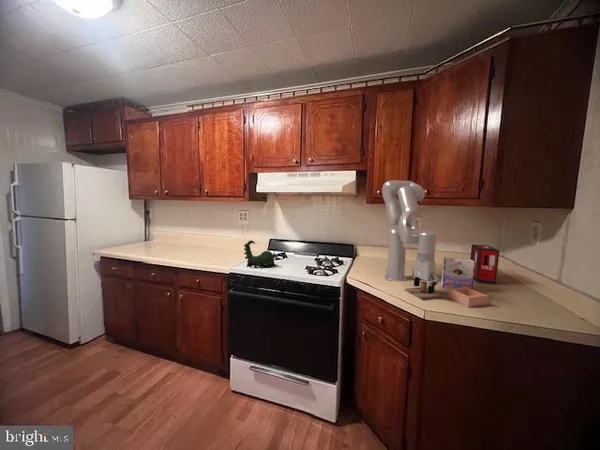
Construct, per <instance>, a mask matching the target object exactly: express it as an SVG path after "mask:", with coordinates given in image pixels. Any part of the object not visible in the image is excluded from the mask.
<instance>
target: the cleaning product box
mask: <svg viewBox="0 0 600 450" xmlns="http://www.w3.org/2000/svg"><path fill="white" fill-rule="evenodd" d="M470 248H471V251H470V259H469V260H473V261H474V262H475V263H474V275H473V281H475V282H476V283H477V284H478V283H479V284H485V285H487V284H488V285H496V284H497V275H498V274H497V273H498V266H499V259H500V257H499V256H500V250H499V249H496V248H494V247H493V246H490V245H487V244H471V247H470Z"/></svg>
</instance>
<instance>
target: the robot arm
mask: <svg viewBox="0 0 600 450" xmlns="http://www.w3.org/2000/svg"><path fill="white" fill-rule="evenodd" d="M425 193H426V192H425V189H424V188H423V187H422V186H421V185H419V184H417V183H416V182H413V181H411V180H398V179H397V180H396V179H395V180H387V181H386V182H384V183H383V185H382V189H381V195H382V199H383V200H384V203H385V208H386V214H387V221H388V224H389V225H391V226H395V227H392V228H390V229H389V230H388V232H387V240H388V255H387V256H388V257H387V269H385V270H384V271H385V272H386V274H385V275H384V278H385V280H387V281H390V282H392V281H393V282H400V283H402V282H406V281H407V280H408V278H407V277H406V276H405V271H406V253H407V252H406V248H405V246H404V245H403V244H406V245H407V244H409V245H412V244H413V245H416V244H417V245H418V246H417V257H415V261H414V265H413V268H411V272H412V275H413V279H414V280H413V287H421V280H423V281H424V282H427V288H428V293H429V294H431V293H434V292H435V287H436V286H437V285H438V283H439V281H440V278H439V277H438V275H436V261H435V255H436V254H435V253H436V240H437V234H436V233H435V231H434V232H433V231H429V230H425V229H421V228H420V229H418V223H417V217H416V215H417V214H418V213H419V212H420V208H419V204H418V202H420V201H422V200H424V198H425V195H426V194H425Z"/></svg>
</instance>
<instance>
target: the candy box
mask: <svg viewBox="0 0 600 450" xmlns="http://www.w3.org/2000/svg"><path fill="white" fill-rule="evenodd" d="M474 263H475V262H474V261H473V260H470V259H467V258H457V257H447V256H446V257H445V256H443V258H442V270H441V283H440V284H441V287H442V288H447V289H452V288H463V287H467V288H470V289H472V290H474V289H473V288H474V287H473V285H474V279H473V275H474Z"/></svg>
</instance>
